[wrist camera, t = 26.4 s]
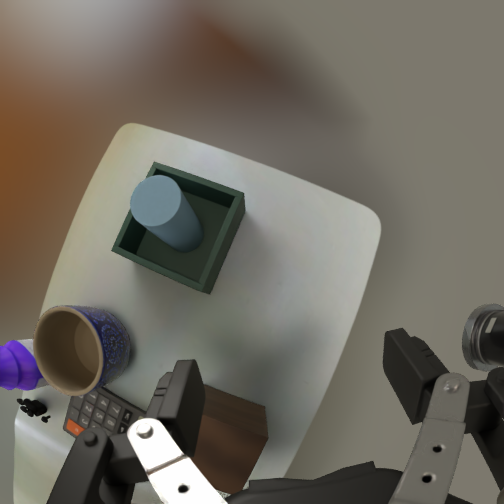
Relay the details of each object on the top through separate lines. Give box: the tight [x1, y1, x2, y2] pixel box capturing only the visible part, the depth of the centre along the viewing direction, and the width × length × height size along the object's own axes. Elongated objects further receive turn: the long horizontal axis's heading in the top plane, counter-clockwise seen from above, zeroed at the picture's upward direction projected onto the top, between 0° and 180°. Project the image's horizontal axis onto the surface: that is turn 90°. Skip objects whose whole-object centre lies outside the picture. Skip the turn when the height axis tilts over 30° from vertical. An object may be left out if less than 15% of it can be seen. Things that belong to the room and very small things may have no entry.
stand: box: [189, 384, 268, 494], centre depth 33 cm, size 9×9×11 cm
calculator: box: [63, 387, 146, 438], centre depth 37 cm, size 12×1×15 cm
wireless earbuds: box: [17, 399, 50, 423], centre depth 36 cm, size 7×2×5 cm, turn 70°
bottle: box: [0, 339, 50, 390], centre depth 31 cm, size 7×6×17 cm
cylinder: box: [130, 175, 204, 252], centre depth 35 cm, size 5×5×14 cm
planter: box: [33, 305, 130, 396], centre depth 35 cm, size 11×11×11 cm
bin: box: [111, 162, 245, 294], centre depth 40 cm, size 13×13×7 cm
